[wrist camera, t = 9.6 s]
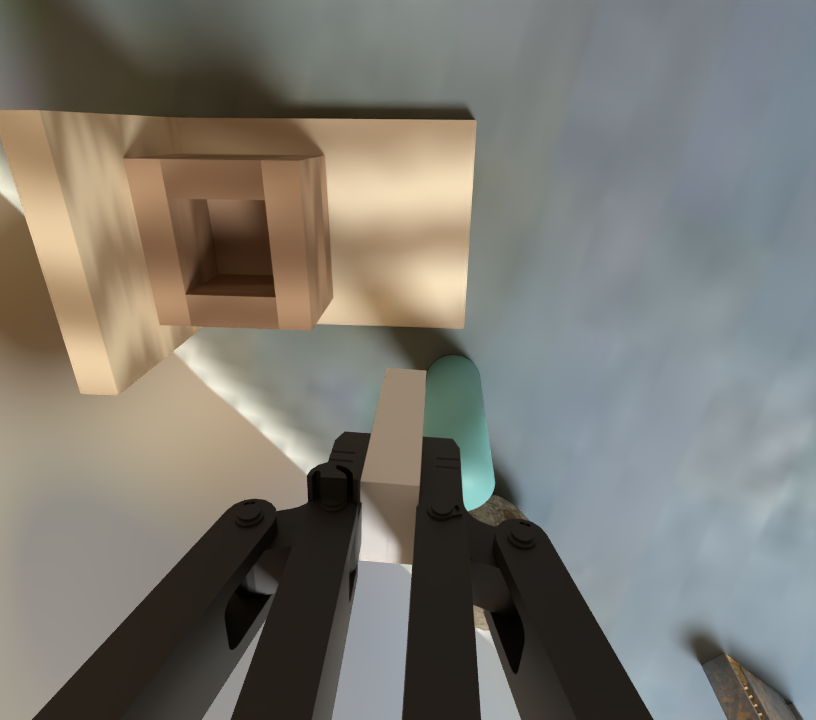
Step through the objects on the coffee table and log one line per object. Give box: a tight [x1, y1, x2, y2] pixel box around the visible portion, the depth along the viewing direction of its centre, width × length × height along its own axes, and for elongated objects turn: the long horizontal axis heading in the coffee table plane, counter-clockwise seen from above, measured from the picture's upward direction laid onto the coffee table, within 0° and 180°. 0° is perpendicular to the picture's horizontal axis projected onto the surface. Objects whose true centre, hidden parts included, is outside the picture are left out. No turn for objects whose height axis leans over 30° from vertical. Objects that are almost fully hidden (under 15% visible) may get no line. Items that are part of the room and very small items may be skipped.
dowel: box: [423, 355, 495, 511], centre depth 31 cm, size 4×4×12 cm
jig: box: [0, 110, 477, 395], centre depth 27 cm, size 13×20×12 cm, turn 90°
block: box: [123, 154, 333, 330], centre depth 29 cm, size 9×9×6 cm
